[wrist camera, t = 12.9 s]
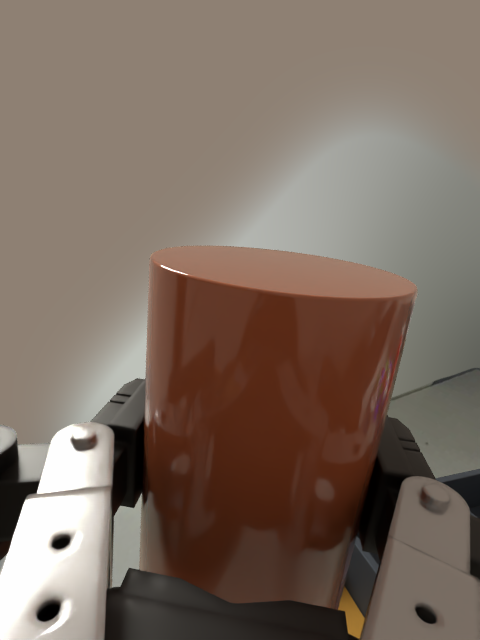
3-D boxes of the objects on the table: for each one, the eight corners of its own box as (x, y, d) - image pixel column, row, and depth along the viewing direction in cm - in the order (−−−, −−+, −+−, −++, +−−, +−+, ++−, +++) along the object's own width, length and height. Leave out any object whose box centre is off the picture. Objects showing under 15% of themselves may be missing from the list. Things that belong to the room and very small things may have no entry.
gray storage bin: (240, 809, 17) (251, 748, 16) (186, 580, 27) (190, 530, 26) (641, 606, 29) (667, 561, 27) (500, 498, 39) (514, 460, 37)
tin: (148, 825, 8) (179, 295, 5) (128, 589, 13) (136, 240, 10) (355, 728, 10) (487, 300, 7) (272, 553, 15) (322, 252, 12)
